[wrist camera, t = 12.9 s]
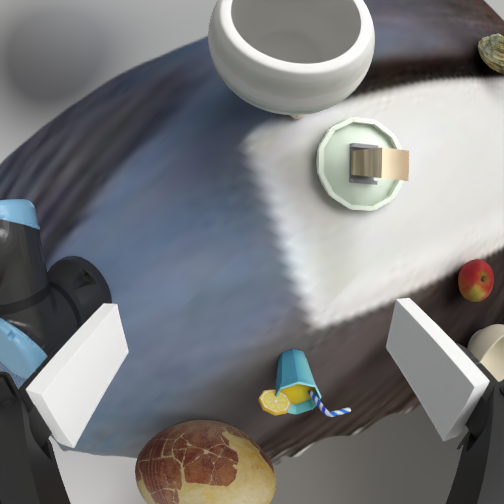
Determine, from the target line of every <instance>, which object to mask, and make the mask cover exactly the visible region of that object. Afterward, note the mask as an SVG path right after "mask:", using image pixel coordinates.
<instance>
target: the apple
mask: <svg viewBox="0 0 504 504" xmlns="http://www.w3.org/2000/svg"><path fill="white" fill-rule="evenodd" d="M493 281H494V277H493V271H492V269H491V267H490V266H489V265H488V264H487V263H486V262H484V261H483V260H480V259H475V260H471V261H469V262H467V263H466V264H465V265H464V266H463V267H462V269H461V270H460V273H459V276H458V284H459V290H460V292H461V294H462V295H463V297H464V298H466V299H467V300H469V301H472V302H479V301H482V300H484V299H485V298H486V297H487V296H488V295H489V294H490V292H491V290H492V287H493Z"/></svg>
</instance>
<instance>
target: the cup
mask: <svg viewBox="0 0 504 504" xmlns="http://www.w3.org/2000/svg"><path fill="white" fill-rule="evenodd" d="M320 399H321V395H320V392H319V390H318V388H317V386H316V384H315V382H314V379H313V376H312V373H311V370H310V368H309V365H308V362H307V359H306V357H305V355H304V353H303V352H302V351H299V350H295V349H291V350H289V351H286V352H283V353H282V355H281V357H280V358H279V360H278V369H277V379H276V389H273V390H264V391H263V393H262V394H261V396H260V397H259V399H258V401H259V403H260V405H261V407H262V409H263V410H264V411H266V412H268V413H270V414H273V415H280V414H286V413H292V414H299V413H302V412H305V411H308V410H311V409H313V408H314V407H315V405H317V406H318V407H319V409H320V410H321V411H322V413H323V414H324V415H326V416H329V417H334V416H338V415H341V414H345V413H348V412H351V409H350V408H349V407H348V408H344V409H340V410H336V411H332V412H330V411H328V410H327V409H326V408H325V407H324V405H323V404H322V403H321V401H320Z"/></svg>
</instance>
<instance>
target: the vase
mask: <svg viewBox="0 0 504 504" xmlns="http://www.w3.org/2000/svg"><path fill="white" fill-rule="evenodd" d="M135 473H136V482H137V486H138V489H139V491H140V493H141V495H142V497H143V498H144V500H145V501H146V502H147V503H148V504H270V502H271V500H272V498H273V496H274V493H275V488H276V476H275V472H274V468H273V465H272V463H271V461H270V459H269V458H268V456H267V455H266V453H265V452H264V451H263V450H262V449H261V448H260V447H259V445H258V444H257V443H256V442H255V441H254V440H253V439H252V438H250V437H249V436H248V435H247V434H245V433H244V432H243V431H241V430H239V429H238V428H236V427H234V426H231V425H229V424H227V423H224V422H220V421H215V420H190V421H186V422H182V423H179V424H176V425H173V426H171V427H169V428H167V429H165V430H163V431H162V432H160V433H158V434H157V435H156V436H154V437H153V438H152V439H151V440H150V441H149V442H148V443H147V444H146V445H145V446H144V448H143V449H142V451H141V452H140V454H139V456H138V458H137V462H136V468H135Z"/></svg>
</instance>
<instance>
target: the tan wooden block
mask: <svg viewBox="0 0 504 504" xmlns="http://www.w3.org/2000/svg"><path fill="white" fill-rule="evenodd" d="M408 173H409V151H406V150H399V149H392V148H385V147H379V148H372V149H365V150H358V151H352V152H351V175H359V176H368V177H376V178H384V179H394V180H403V181H408Z"/></svg>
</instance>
